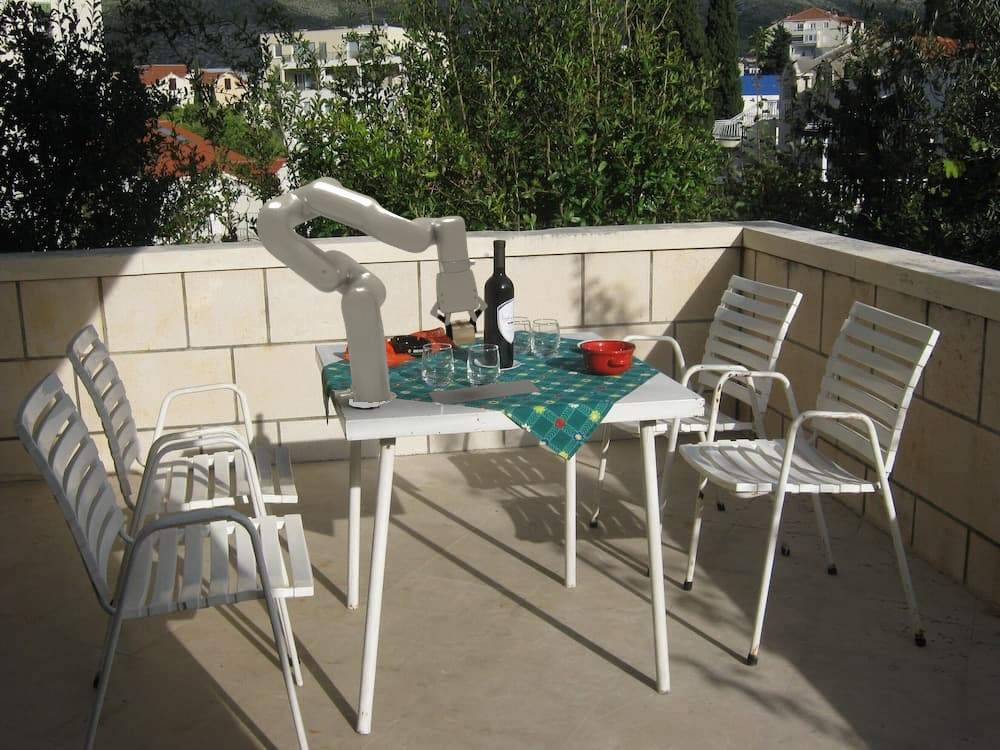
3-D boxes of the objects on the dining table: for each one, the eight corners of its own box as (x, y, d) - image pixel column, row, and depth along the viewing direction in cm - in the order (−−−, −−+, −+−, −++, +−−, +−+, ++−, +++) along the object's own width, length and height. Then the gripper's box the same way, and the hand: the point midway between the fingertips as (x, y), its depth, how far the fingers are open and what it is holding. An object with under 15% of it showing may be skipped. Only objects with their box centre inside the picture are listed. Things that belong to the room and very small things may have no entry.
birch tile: (449, 336, 276) (447, 321, 274) (468, 334, 276) (466, 318, 275) (455, 345, 266) (454, 329, 265) (475, 342, 267) (473, 326, 266)
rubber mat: (436, 407, 268) (436, 405, 268) (428, 394, 279) (428, 392, 279) (540, 393, 273) (540, 391, 273) (528, 381, 285) (528, 379, 285)
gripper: (484, 260, 271) (491, 330, 276) (418, 269, 268) (426, 339, 273) (490, 264, 264) (498, 336, 269) (422, 273, 261) (431, 345, 266)
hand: (461, 337), depth 271 cm, fingers closed on birch tile, 5 cm apart
